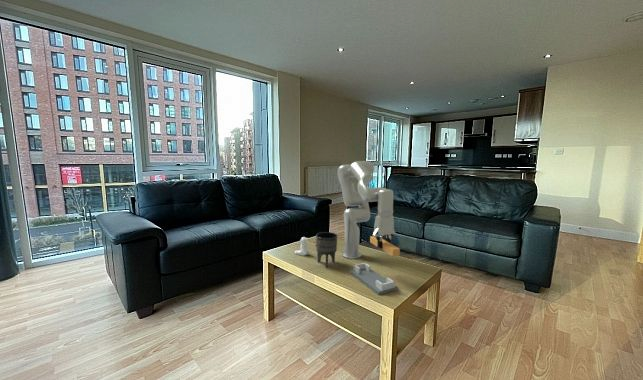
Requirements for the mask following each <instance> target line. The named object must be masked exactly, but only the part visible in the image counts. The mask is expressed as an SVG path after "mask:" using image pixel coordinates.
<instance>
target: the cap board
mask: <svg viewBox="0 0 643 380" xmlns="http://www.w3.org/2000/svg"><path fill="white" fill-rule="evenodd" d="M349 273H350V275H352V276H353V277H354V278H355V279H356V280H358V281H359V282H361V283H362V284H363V285H365V286H366V287H367V288H369V289H370V290H371V291H372V292H374V293H375V294H377V295H378V296H379V295H383V293H384V294H386V293H390V291H391V292H394V290H395V291H398V290H399V286H398V285H396V281H394V280H392V279H391V278H390V277H386V278H385V277H384V276H383V275H381V274H380V273H378V272H376V271H375V270H373V269H371V265H369V264H368V263H366V262H362V263H357V264H354V265H353V269H352V270H350V271H349ZM397 289H398V290H397Z"/></svg>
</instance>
